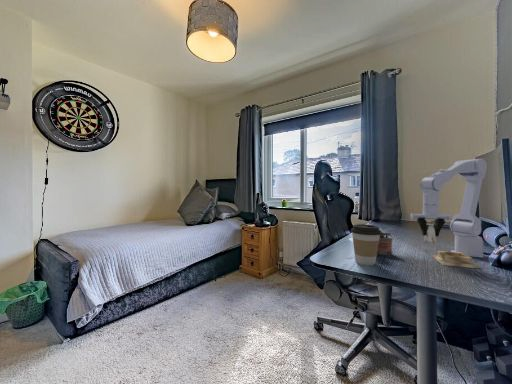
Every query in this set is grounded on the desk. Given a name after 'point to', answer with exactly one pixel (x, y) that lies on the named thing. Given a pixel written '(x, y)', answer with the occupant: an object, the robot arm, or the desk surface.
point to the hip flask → (385, 244)
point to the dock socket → (455, 259)
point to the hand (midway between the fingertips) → (430, 235)
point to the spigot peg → (430, 234)
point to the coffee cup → (365, 243)
